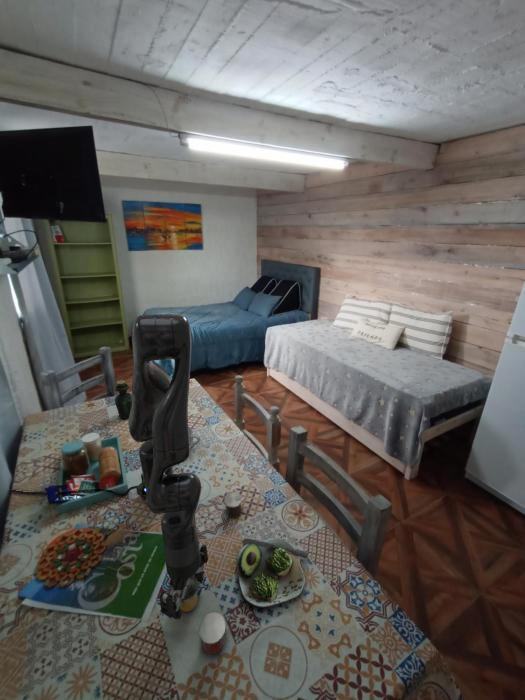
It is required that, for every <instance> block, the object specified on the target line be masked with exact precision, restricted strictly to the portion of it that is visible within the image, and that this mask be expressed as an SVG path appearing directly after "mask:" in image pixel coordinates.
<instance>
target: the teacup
mask: <svg viewBox="0 0 525 700" xmlns="http://www.w3.org/2000/svg"><path fill="white" fill-rule="evenodd" d="M188 431H189V447H190V449H192V448H194V446H197V445H199V444H200V442H201V437H200V435H198V434H194V430H193V428H192V427H191V426H188ZM194 438H195V439H196V440H197V441H195V442H194Z"/></svg>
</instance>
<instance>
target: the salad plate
mask: <svg viewBox="0 0 525 700" xmlns="http://www.w3.org/2000/svg"><path fill="white" fill-rule="evenodd" d="M241 543H242V548H241V549H240V550H239V552H238V554H237V556H236V562H235V563H236V572H237V579H238V583H239V591H240V594H241V598H242V599H243V600H244V601H245V602H246V603H247V604H248V605H250V606H252V607H254V608H257V609H271V608H273V607H274V606H277V605H280V604H283V603H286V602H288V601H291V600H293V599H295V598H298V597H299V596H300V594H302V592H303V591H304V588H305V586H306V582H307V581H306V576H305V574H304V570H303V568H302V565H301V560H302V559H303V560H304V559H307V558H308V557H309V552H308V551H306V550H300V549H295V548H294V546H293V545H292V544H291V543H290V542H289V541H288V540H286V539H284V538H282V537H272V538H269V539H264V540H256V539H252V538H244V539H243V540H241Z"/></svg>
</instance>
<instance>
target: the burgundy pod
mask: <svg viewBox="0 0 525 700" xmlns="http://www.w3.org/2000/svg"><path fill="white" fill-rule="evenodd" d="M226 629H227V625H226V619H225V618H224V616H223V615H222V614H221V613H220V612H215V611H212V612H209V613H207V614H206V615H205V616H204V617H203V618H202V619H201V621H200V623H199V627H198V634H199V638H200V640H201V641H202V646H203V650H204V652H206V653H207V654H209V655H216V654H218V653H219V652H220V651H221V650H222V649H223V647H224V644H225V633H226Z"/></svg>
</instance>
